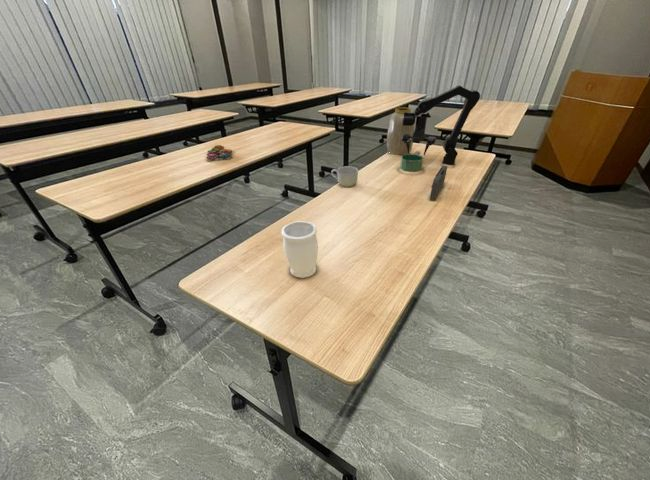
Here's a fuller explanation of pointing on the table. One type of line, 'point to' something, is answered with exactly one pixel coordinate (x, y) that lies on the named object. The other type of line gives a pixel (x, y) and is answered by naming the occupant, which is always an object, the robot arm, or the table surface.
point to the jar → (300, 247)
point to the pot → (412, 162)
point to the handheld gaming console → (438, 182)
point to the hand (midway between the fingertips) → (416, 154)
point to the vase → (398, 133)
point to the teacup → (346, 175)
